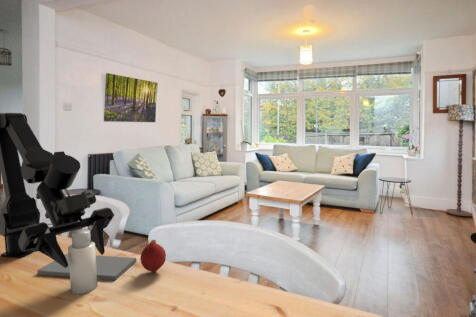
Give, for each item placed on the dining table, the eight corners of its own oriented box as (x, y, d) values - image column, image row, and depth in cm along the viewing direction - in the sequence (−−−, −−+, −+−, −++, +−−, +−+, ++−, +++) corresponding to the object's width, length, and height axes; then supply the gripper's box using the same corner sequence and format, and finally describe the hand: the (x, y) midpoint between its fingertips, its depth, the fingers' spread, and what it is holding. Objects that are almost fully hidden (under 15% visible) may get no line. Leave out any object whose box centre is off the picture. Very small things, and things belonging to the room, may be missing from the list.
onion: (159, 279, 73) (158, 245, 72) (136, 276, 74) (135, 243, 73) (170, 267, 78) (169, 236, 78) (148, 266, 80) (147, 235, 79)
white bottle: (65, 292, 67) (61, 235, 66) (81, 281, 72) (77, 227, 71) (87, 294, 66) (84, 236, 65) (102, 282, 71) (99, 228, 70)
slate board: (37, 274, 76) (37, 270, 75) (66, 257, 85) (66, 253, 85) (115, 280, 72) (115, 276, 72) (136, 261, 82) (136, 257, 82)
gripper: (19, 186, 62) (49, 255, 56) (107, 174, 77) (138, 227, 71) (7, 219, 67) (33, 284, 62) (92, 201, 82) (119, 253, 77)
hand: (85, 259), depth 68 cm, fingers open, 8 cm apart
